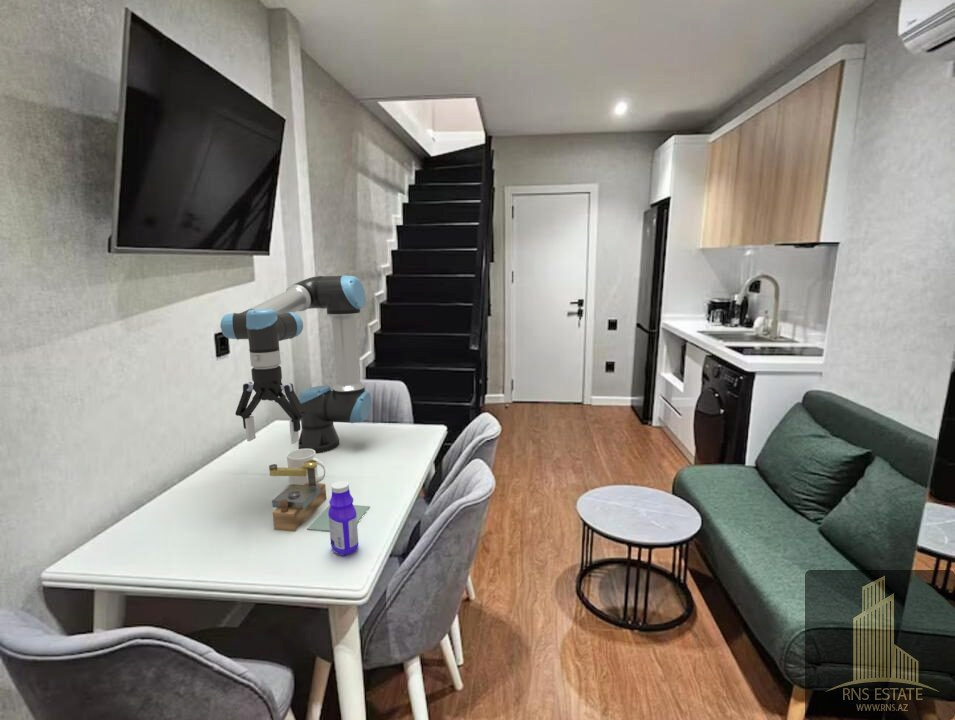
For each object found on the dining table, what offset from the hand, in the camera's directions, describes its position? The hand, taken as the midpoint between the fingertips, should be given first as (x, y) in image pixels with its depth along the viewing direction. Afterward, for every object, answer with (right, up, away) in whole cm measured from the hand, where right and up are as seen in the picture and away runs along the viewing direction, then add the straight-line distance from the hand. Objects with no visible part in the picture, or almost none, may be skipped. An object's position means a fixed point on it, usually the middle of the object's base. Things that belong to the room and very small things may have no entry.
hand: (273, 441), depth 139 cm
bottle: (+24, -24, -15) cm, 38 cm away
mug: (+3, -18, +20) cm, 27 cm away
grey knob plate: (+7, -16, 0) cm, 18 cm away
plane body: (+7, -21, +2) cm, 22 cm away
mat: (+19, -21, -1) cm, 28 cm away
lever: (+3, -11, +8) cm, 14 cm away
